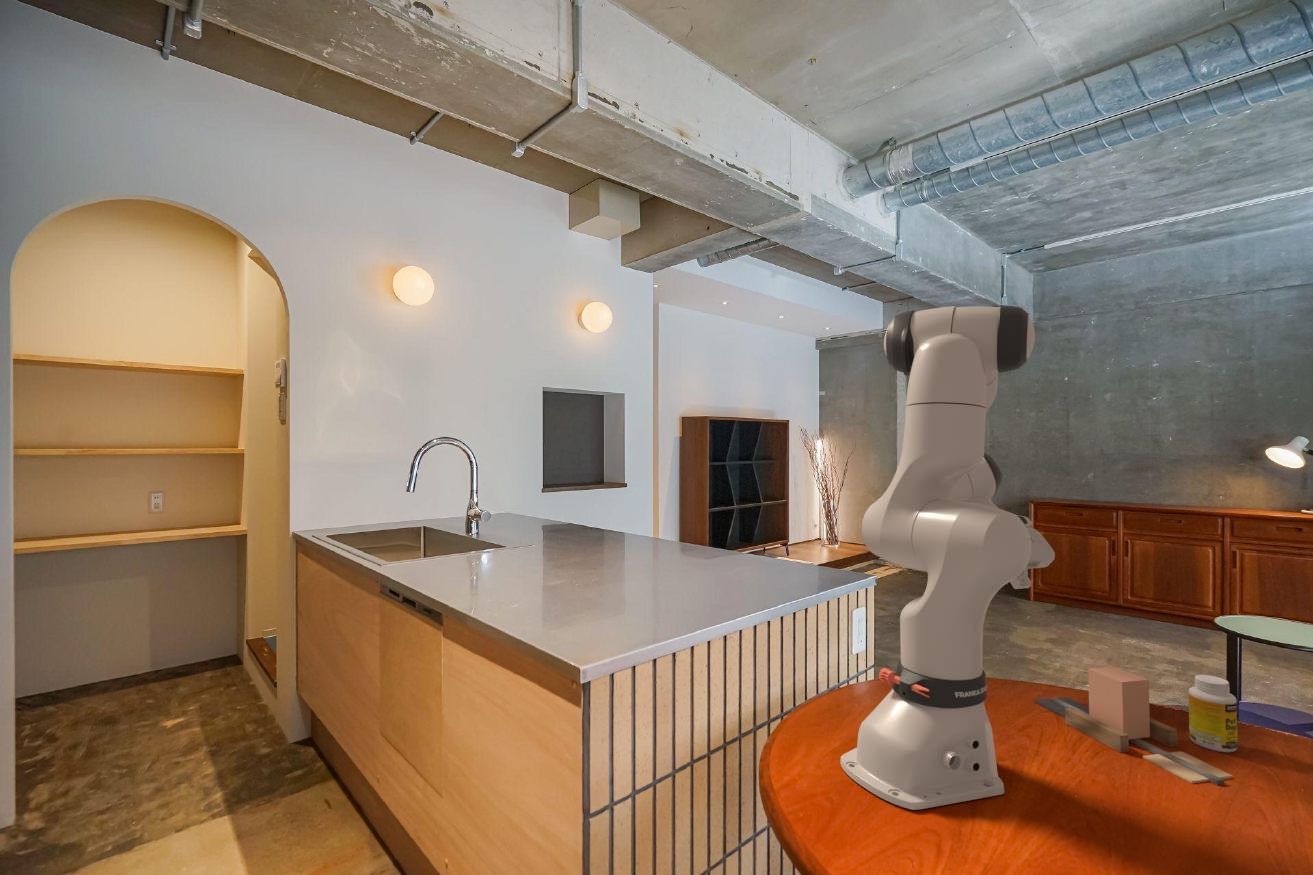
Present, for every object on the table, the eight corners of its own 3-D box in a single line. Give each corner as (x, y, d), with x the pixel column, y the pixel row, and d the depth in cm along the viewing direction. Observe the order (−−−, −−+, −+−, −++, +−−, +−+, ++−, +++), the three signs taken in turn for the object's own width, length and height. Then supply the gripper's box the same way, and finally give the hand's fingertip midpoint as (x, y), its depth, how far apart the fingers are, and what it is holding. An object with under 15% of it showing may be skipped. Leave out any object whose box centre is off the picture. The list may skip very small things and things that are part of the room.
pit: (1034, 701, 111) (1034, 699, 111) (1066, 698, 112) (1066, 696, 112) (1066, 718, 104) (1066, 716, 104) (1101, 714, 105) (1101, 712, 105)
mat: (1142, 757, 91) (1142, 755, 91) (1181, 752, 92) (1181, 751, 92) (1191, 783, 84) (1191, 780, 84) (1232, 777, 85) (1232, 775, 85)
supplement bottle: (1231, 757, 90) (1230, 688, 91) (1184, 742, 95) (1182, 677, 95) (1243, 747, 93) (1241, 680, 94) (1196, 733, 98) (1194, 669, 98)
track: (1028, 703, 110) (1027, 689, 110) (1077, 698, 112) (1077, 685, 112) (1189, 788, 82) (1188, 770, 82) (1251, 780, 84) (1250, 762, 84)
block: (1089, 722, 101) (1088, 668, 101) (1114, 720, 101) (1113, 666, 102) (1123, 739, 95) (1122, 682, 95) (1150, 736, 96) (1148, 679, 96)
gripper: (947, 523, 123) (983, 582, 113) (1035, 516, 126) (1077, 573, 117) (934, 541, 127) (968, 600, 117) (1020, 535, 131) (1059, 591, 121)
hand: (1023, 586), depth 117 cm, fingers closed
